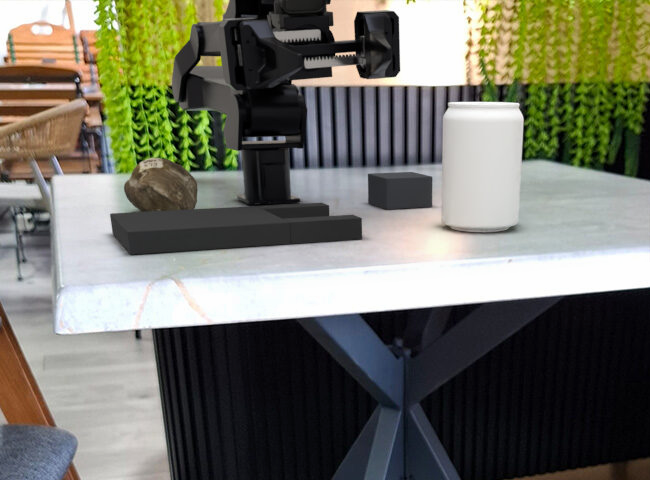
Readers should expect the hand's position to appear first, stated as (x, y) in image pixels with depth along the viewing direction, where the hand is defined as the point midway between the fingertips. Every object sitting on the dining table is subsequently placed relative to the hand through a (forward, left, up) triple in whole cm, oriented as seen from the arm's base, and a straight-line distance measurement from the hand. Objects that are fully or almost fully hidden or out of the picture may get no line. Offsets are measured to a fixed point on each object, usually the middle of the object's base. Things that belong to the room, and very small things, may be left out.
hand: (346, 57), depth 85 cm
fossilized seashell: (-19, -16, -16) cm, 30 cm away
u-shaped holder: (-1, -12, -16) cm, 20 cm away
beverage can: (+3, +13, -16) cm, 21 cm away
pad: (-16, +12, -16) cm, 26 cm away
